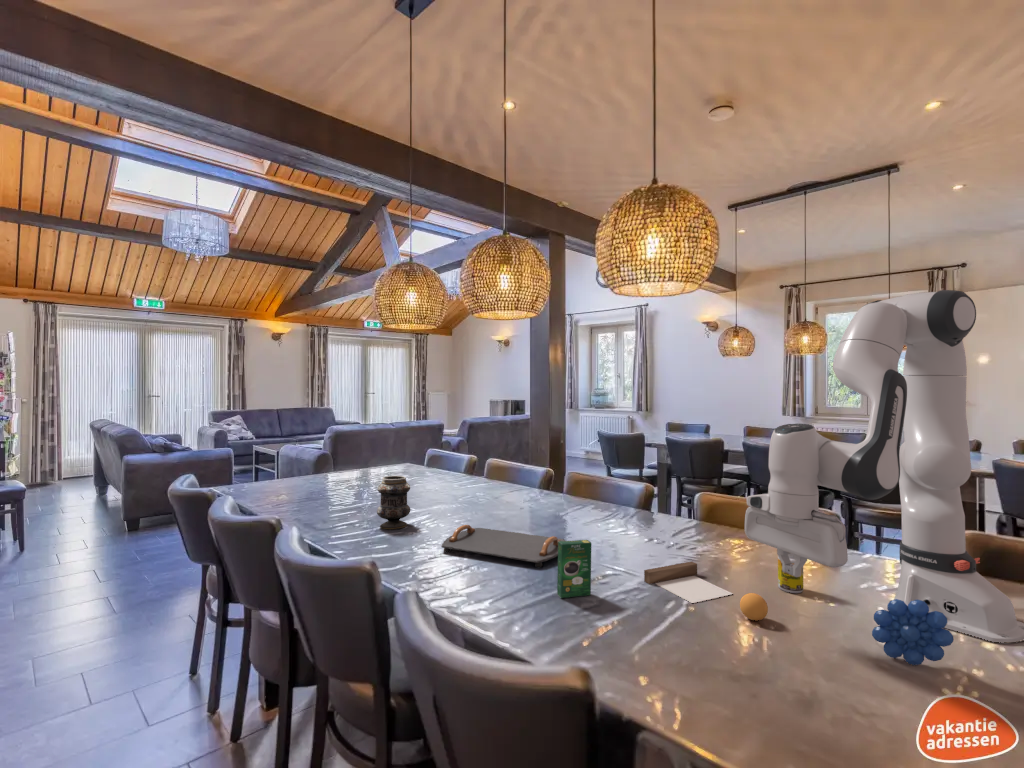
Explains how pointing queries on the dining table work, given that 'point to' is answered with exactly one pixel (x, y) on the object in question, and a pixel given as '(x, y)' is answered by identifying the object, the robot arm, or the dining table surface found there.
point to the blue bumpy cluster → (912, 631)
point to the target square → (693, 589)
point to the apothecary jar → (393, 501)
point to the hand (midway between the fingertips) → (791, 574)
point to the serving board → (503, 544)
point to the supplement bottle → (789, 578)
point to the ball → (753, 606)
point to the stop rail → (670, 572)
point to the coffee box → (574, 568)
